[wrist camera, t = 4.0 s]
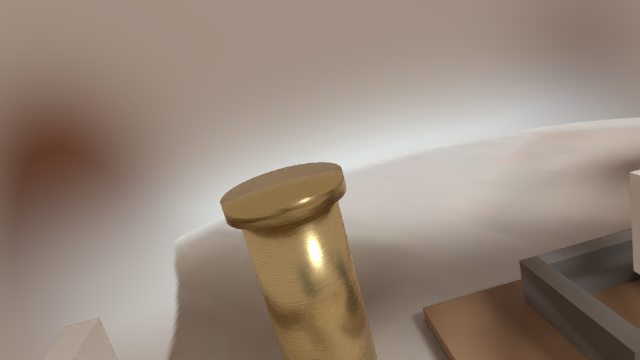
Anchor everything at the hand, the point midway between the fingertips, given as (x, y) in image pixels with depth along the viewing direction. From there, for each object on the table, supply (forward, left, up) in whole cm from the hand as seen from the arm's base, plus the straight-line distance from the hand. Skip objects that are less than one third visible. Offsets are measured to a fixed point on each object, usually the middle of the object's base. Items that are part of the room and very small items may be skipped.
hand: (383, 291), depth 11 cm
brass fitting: (+2, -13, -14) cm, 19 cm away
